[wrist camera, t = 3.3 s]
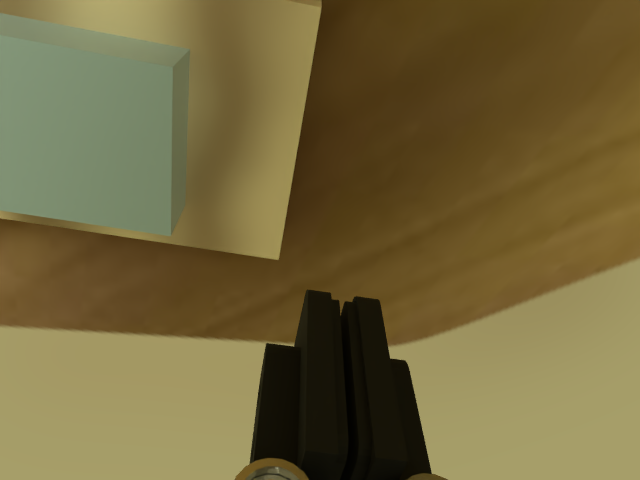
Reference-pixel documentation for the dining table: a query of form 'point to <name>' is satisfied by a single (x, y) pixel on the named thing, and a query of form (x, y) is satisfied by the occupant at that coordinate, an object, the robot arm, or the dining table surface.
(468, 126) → the dining table surface
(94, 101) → the tile
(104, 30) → the board
